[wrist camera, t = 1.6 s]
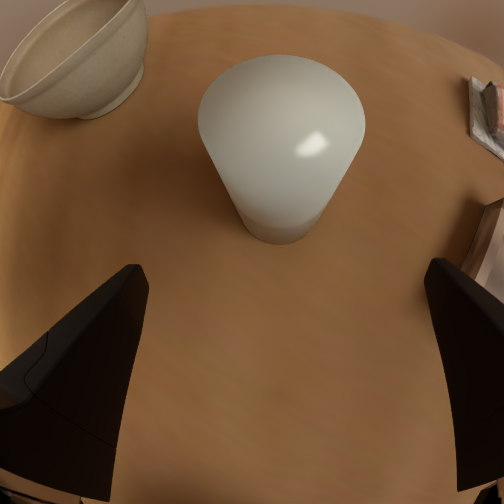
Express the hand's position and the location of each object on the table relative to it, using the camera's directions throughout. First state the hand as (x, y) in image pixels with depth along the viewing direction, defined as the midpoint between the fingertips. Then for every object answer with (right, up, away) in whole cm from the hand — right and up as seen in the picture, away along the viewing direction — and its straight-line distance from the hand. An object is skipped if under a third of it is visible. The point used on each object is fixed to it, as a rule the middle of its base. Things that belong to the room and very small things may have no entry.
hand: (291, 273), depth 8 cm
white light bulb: (+1, +4, +13) cm, 14 cm away
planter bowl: (-17, +19, +16) cm, 31 cm away
